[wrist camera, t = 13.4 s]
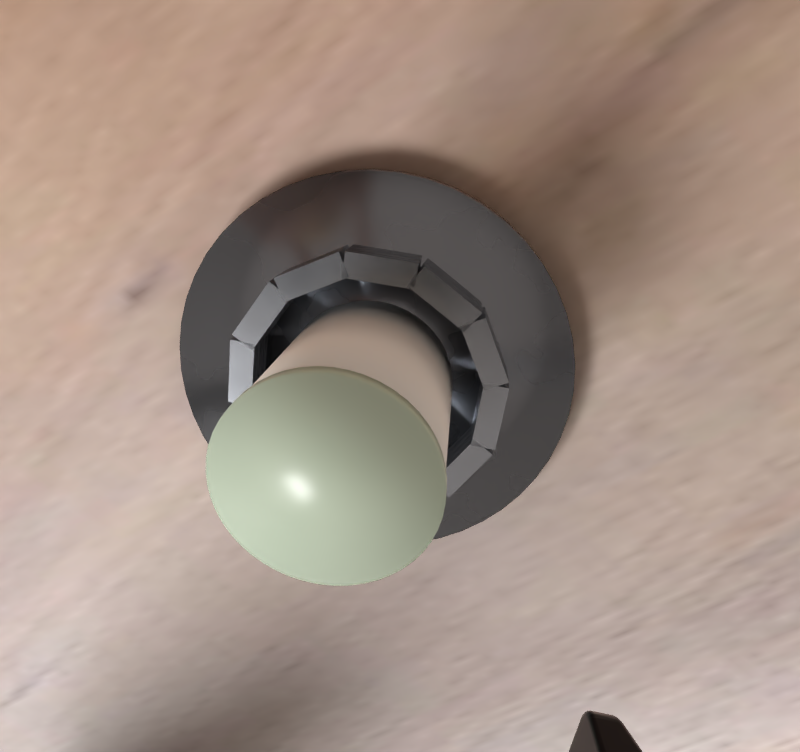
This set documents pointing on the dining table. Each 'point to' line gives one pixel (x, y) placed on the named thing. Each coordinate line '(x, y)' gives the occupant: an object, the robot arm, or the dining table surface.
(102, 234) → the dining table surface
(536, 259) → the collar
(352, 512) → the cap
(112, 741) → the dining table surface
